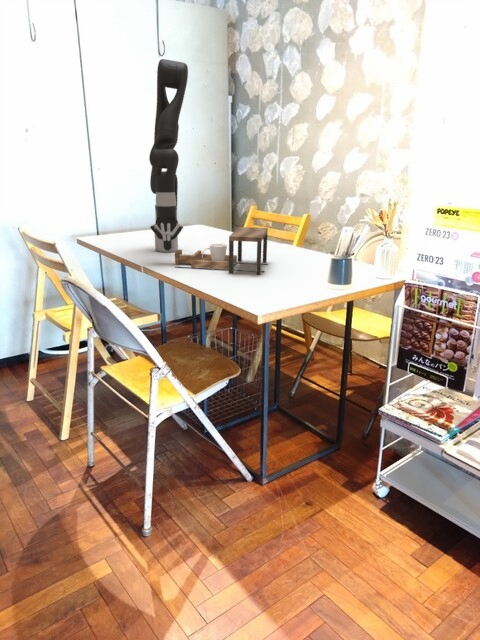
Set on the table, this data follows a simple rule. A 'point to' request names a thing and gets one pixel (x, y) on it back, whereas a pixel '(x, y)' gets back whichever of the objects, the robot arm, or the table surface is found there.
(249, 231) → the small wooden stool
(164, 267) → the table surface
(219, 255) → the cup
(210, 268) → the rails
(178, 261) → the tray
